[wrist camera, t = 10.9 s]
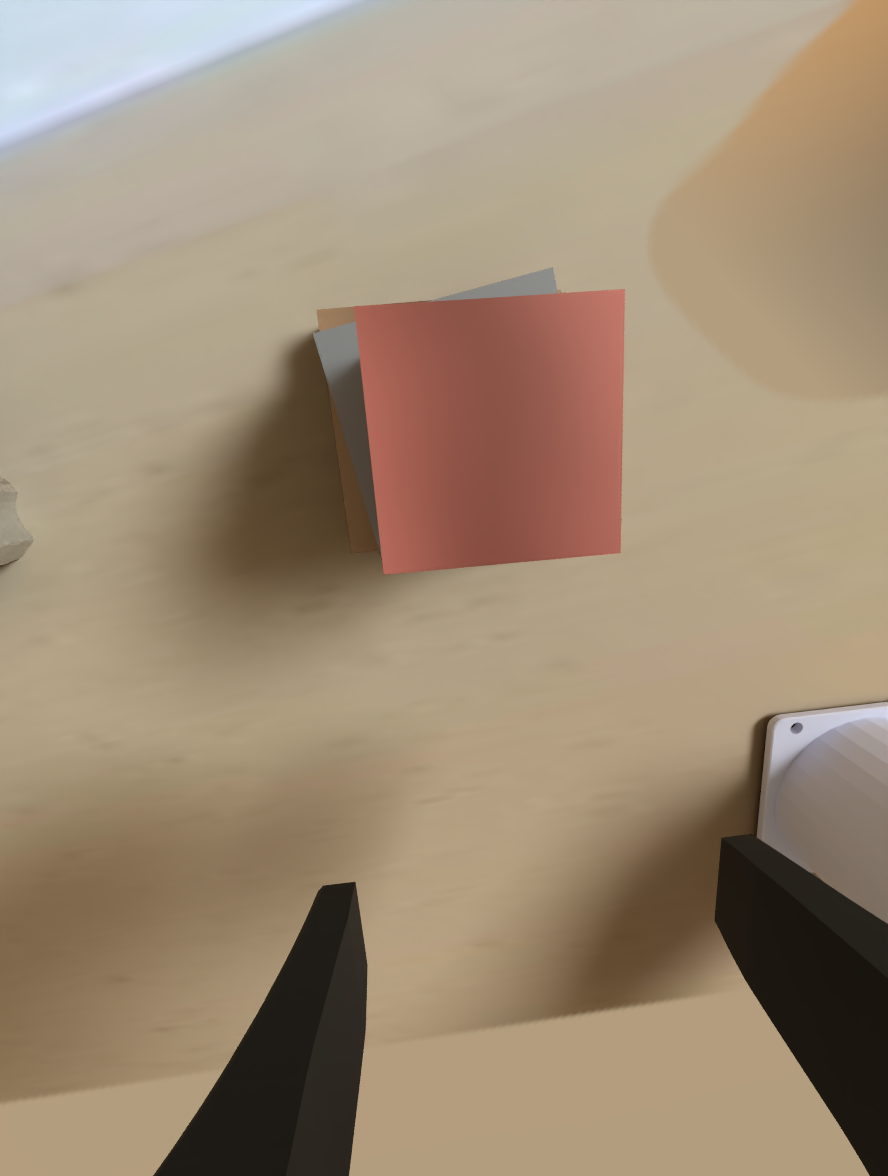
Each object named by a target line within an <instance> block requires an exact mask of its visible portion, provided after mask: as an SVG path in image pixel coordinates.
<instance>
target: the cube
mask: <svg viewBox="0 0 888 1176" xmlns="http://www.w3.org/2000/svg"><path fill="white" fill-rule="evenodd" d="M354 310H355V319H356V328H357V337H358V346H359V355H360V365H361V374H362V383H363V392H364V401H365V410H366V419H367V428H368V437H369V446H370V455H371V464H372V474H373V483H374V492H375V501H376V510H377V519H378V528H379V537H380V546H381V555H382V564H383V573H384V575H385V574H396V573H407V572H418V571H429V570H440V569H451V568H462V567H473V566H484V565H495V564H506V563H516V562H527V561H538V560H549V559H560V558H571V557H582V556H593V555H604V554H615V553H620V550H621V491H622V431H623V371H624V312H625V289H620V290H604V291H588V292H573V293H557V294H541V295H526V296H510V297H494V298H479V299H463V300H448V301H432V302H416V303H401V304H385V305H369V306H354Z"/></svg>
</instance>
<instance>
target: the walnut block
mask: <svg viewBox="0 0 888 1176" xmlns="http://www.w3.org/2000/svg"><path fill="white" fill-rule="evenodd" d="M557 293H561V290H557ZM431 301H432V300H431ZM418 302H428V301H418ZM406 303H416V302H406ZM394 304H401V303H394ZM382 305H385V304H382ZM317 317H318V324H319V331H323V330H326V329H330V328H334V327H337V326H341V325H345V324H348V323H352V322H356V319H355V310H354V307H346V308H334V309H321V310H317ZM326 380H327V379H326ZM327 387H328V394H329V401H330V408H331V415H332V422H333V429H334V436H335V443H336V450H337V457H338V464H339V471H340V478H341V485H342V492H343V498H344V505H345V512H346V519H347V526H348V533H349V540H350V547H351V553H358V552H368V551H377V550H379V549H378V545H377V542H376V539H375V536H374V532H373V529H372V526H371V523H370V519H369V516H368V513H367V509H366V506H365V503H364V500H363V496H362V493H361V490H360V487H359V483H358V480H357V477H356V473H355V470H354V467H353V464H352V460H351V457H350V454H349V451H348V447H347V444H346V441H345V438H344V434H343V431H342V428H341V424H340V421H339V418H338V415H337V411H336V408H335V405H334V402H333V398H332V395H331V392H330V388H329V385H328V382H327Z"/></svg>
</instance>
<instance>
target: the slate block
mask: <svg viewBox="0 0 888 1176" xmlns="http://www.w3.org/2000/svg"><path fill="white" fill-rule="evenodd" d="M541 294H557V288H556V282H555V277H554V271H553V267H552V268H548V269H545V270H541V271H538V272H534V273H530V274H527V275H523V276H519V277H516V278H512V279H508V280H505V281H501V282H498V283H494V284H490V285H487V286H483V287H479V288H476V289H472V290H468V291H465V292H461V293H457V294H454V295H450V296H447V297H443V298H439V299H436V300H432V301H448V300H463V299H479V298H494V297H510V296H526V295H541ZM432 301H428V302H432ZM313 336H314V339H315V343H316V346H317V349H318V353H319V356H320V359H321V362H322V366H323V369H324V372H325V375H326V379H327V382H328V385H329V388H330V392H331V395H332V398H333V402H334V405H335V408H336V411H337V415H338V418H339V421H340V424H341V428H342V431H343V434H344V438H345V441H346V444H347V447H348V451H349V454H350V457H351V460H352V464H353V467H354V470H355V473H356V477H357V480H358V483H359V487H360V490H361V493H362V496H363V500H364V503H365V506H366V509H367V513H368V516H369V519H370V523H371V526H372V529H373V532H374V536H375V539H376V542H377V545H378V549H379V552H380V555H381V546H380V537H379V528H378V519H377V510H376V501H375V492H374V483H373V474H372V464H371V455H370V446H369V437H368V428H367V419H366V410H365V401H364V392H363V383H362V374H361V365H360V355H359V346H358V337H357V328H356V322H352V323H348V324H345V325H341V326H337V327H334V328H330V329H326V330H323V331H319V332H316V333H313ZM381 558H382V555H381Z"/></svg>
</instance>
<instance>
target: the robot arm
mask: <svg viewBox="0 0 888 1176" xmlns="http://www.w3.org/2000/svg"><path fill="white" fill-rule="evenodd" d="M794 723H796V724H795V726H794V727H793V728H791V726H792V725H793V724H794ZM811 873H815V874H816V875H817V876H818V877H819V878H820V879H821V880H820V879H819V878H817V877H816V876H814V875H813V874H811ZM715 922H716V924H717V926H718V928H719V930H720V932H721V934H722V936H723V938H724V940H725V942H726V944H727V946H728V948H729V950H730V952H731V954H732V956H733V958H734V960H735V962H736V964H737V965H738V967H739V969H740V971H741V973H742V975H743V977H744V979H745V980H746V982H747V983H748V985H749V987H750V988H751V990H752V991H753V993H754V995H755V996H756V997H757V999H758V1001H759V1002H760V1004H761V1005H762V1007H763V1009H764V1010H765V1012H766V1013H767V1015H768V1016H769V1018H770V1019H771V1021H772V1023H773V1024H774V1026H775V1027H776V1029H777V1030H778V1032H779V1033H780V1035H781V1036H782V1038H783V1040H784V1041H785V1042H786V1044H787V1046H788V1047H789V1049H790V1050H791V1052H792V1053H793V1055H794V1056H795V1058H796V1059H797V1061H798V1063H799V1064H800V1065H801V1067H802V1068H803V1070H804V1072H805V1073H806V1075H807V1076H808V1078H809V1079H810V1081H811V1082H812V1084H813V1085H814V1087H815V1089H816V1090H817V1092H818V1093H819V1094H820V1096H821V1098H822V1099H823V1101H824V1102H825V1104H826V1106H827V1107H828V1109H829V1110H830V1112H831V1113H832V1115H833V1116H834V1118H835V1119H836V1121H837V1122H838V1124H839V1125H840V1127H841V1129H842V1130H843V1132H844V1134H845V1135H846V1137H847V1138H848V1140H849V1142H850V1143H851V1145H852V1147H853V1148H854V1150H855V1151H856V1153H857V1155H858V1156H859V1158H860V1160H861V1161H862V1163H863V1165H864V1166H865V1168H866V1170H867V1172H868V1173H869V1175H870V1176H888V702H881V703H873V704H864V705H856V706H847V707H839V708H830V709H822V710H814V711H805V712H797V713H788V714H780V715H777V716H774V717H773V718H772V719H771V720H770V721H769V722H768V726H767V734H766V744H765V755H764V765H763V776H762V786H761V797H760V807H759V818H758V828H757V837H755V836H753V835H752V834H749V835H741V836H732V837H724V838H722V839H721V851H720V862H719V874H718V886H717V898H716V910H715ZM366 1001H367V959H366V952H365V945H364V938H363V931H362V924H361V917H360V910H359V903H358V896H357V889H356V883H355V882H350V883H342V884H334V885H325V886H323V887H322V888H321V889H320V890H319V891H318V893H317V895H316V897H315V900H314V902H313V905H312V907H311V909H310V911H309V914H308V916H307V918H306V920H305V922H304V925H303V927H302V929H301V931H300V933H299V935H298V937H297V939H296V941H295V943H294V945H293V947H292V949H291V951H290V953H289V955H288V957H287V959H286V961H285V963H284V965H283V967H282V969H281V971H280V973H279V974H278V976H277V978H276V980H275V982H274V984H273V986H272V988H271V990H270V991H269V993H268V995H267V997H266V999H265V1001H264V1003H263V1004H262V1006H261V1008H260V1010H259V1012H258V1013H257V1015H256V1017H255V1019H254V1020H253V1022H252V1024H251V1025H250V1027H249V1029H248V1030H247V1032H246V1034H245V1035H244V1037H243V1039H242V1041H241V1042H240V1044H239V1046H238V1047H237V1049H236V1051H235V1052H234V1054H233V1056H232V1058H231V1059H230V1061H229V1063H228V1064H227V1066H226V1068H225V1069H224V1071H223V1072H222V1074H221V1076H220V1077H219V1079H218V1080H217V1082H216V1084H215V1085H214V1087H213V1088H212V1090H211V1091H210V1093H209V1095H208V1096H207V1098H206V1099H205V1101H204V1103H203V1104H202V1106H201V1107H200V1108H199V1110H198V1112H197V1113H196V1115H195V1116H194V1118H193V1119H192V1120H191V1122H190V1123H189V1125H188V1126H187V1128H186V1129H185V1131H184V1132H183V1134H182V1136H181V1137H180V1138H179V1140H178V1141H177V1143H176V1144H175V1146H174V1147H173V1149H172V1150H171V1152H170V1153H169V1154H168V1156H167V1157H166V1159H165V1160H164V1161H163V1163H162V1164H161V1166H160V1167H159V1168H158V1170H157V1171H156V1173H155V1174H154V1175H153V1176H349V1170H350V1161H351V1153H352V1144H353V1136H354V1127H355V1118H356V1110H357V1101H358V1093H359V1084H360V1076H361V1066H362V1058H363V1049H364V1040H365V1031H366Z"/></svg>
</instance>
